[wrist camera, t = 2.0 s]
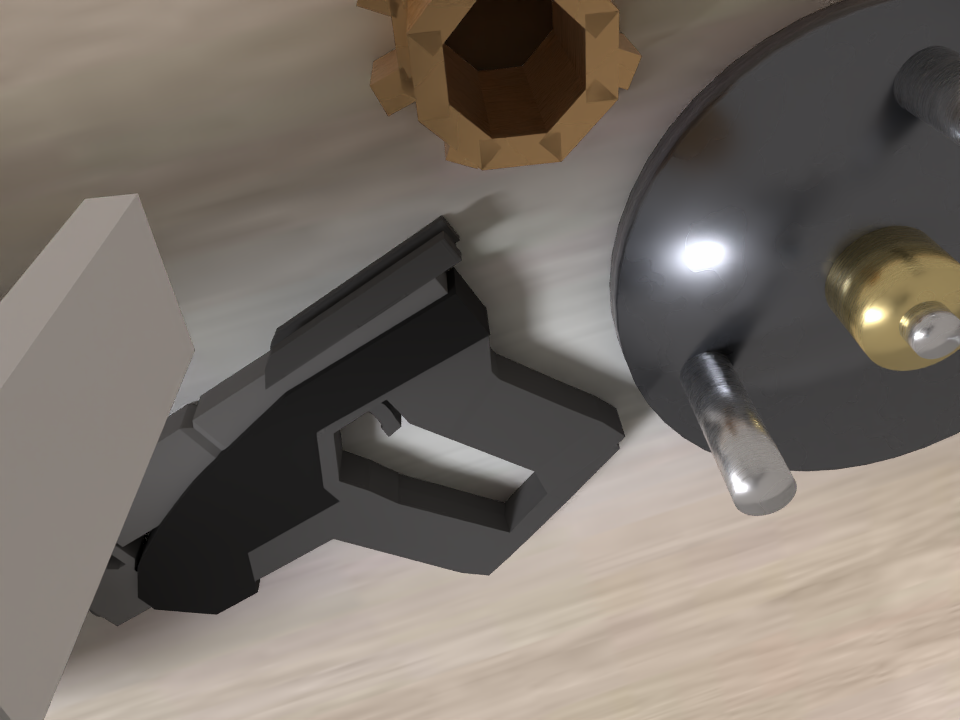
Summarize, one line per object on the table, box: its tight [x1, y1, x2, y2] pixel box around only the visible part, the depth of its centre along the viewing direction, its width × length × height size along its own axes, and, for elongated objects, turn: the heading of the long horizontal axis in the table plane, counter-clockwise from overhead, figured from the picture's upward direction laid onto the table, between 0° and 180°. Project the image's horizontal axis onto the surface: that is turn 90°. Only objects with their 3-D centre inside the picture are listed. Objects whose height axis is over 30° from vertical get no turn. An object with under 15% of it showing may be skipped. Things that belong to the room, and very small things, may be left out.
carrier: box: [610, 0, 960, 516], centre depth 27 cm, size 19×19×8 cm
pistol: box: [89, 216, 625, 626], centre depth 35 cm, size 2×26×15 cm
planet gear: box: [356, 0, 642, 170], centre depth 22 cm, size 8×8×6 cm
